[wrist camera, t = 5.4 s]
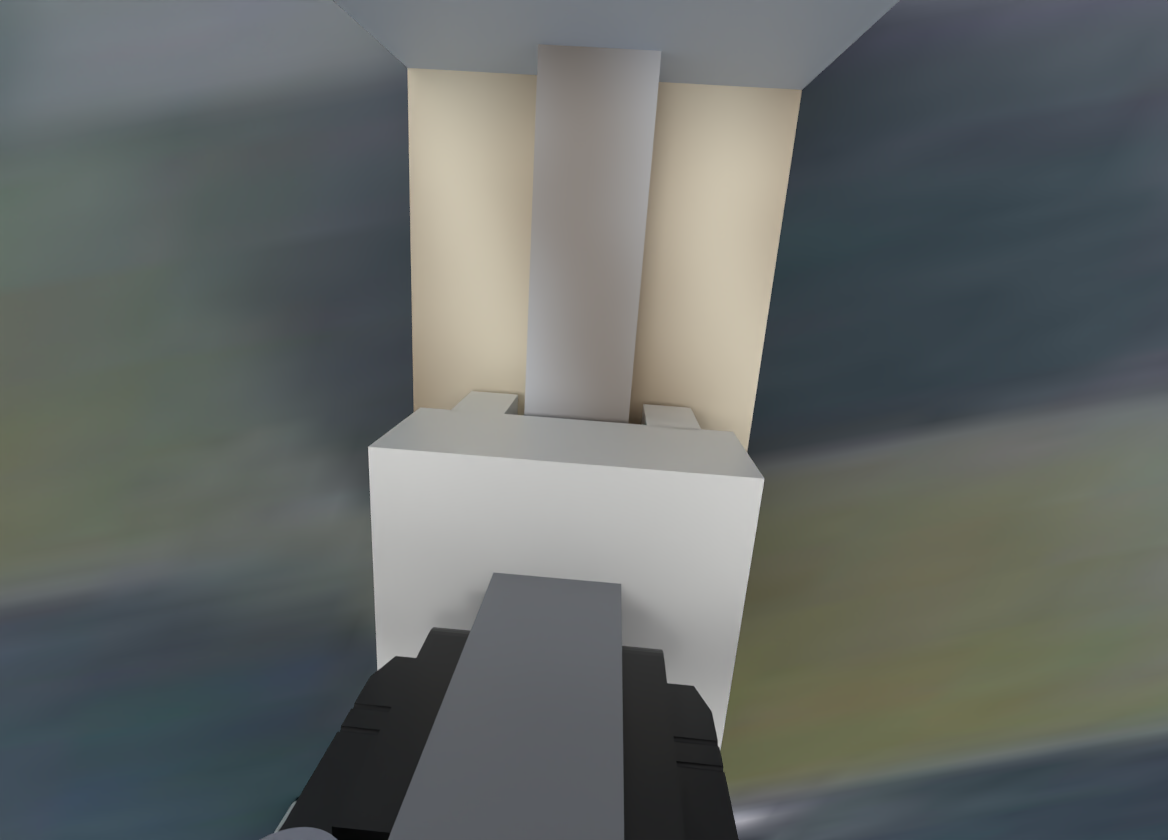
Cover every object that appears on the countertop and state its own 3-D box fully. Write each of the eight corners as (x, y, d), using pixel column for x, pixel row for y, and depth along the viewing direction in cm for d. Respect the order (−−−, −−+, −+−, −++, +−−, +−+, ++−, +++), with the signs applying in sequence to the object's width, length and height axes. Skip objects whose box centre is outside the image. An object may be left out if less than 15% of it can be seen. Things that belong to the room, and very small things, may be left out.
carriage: (445, 623, 17) (-33, 1636, 4) (444, 388, 15) (-403, 1027, 2) (686, 645, 16) (890, 1782, 4) (718, 409, 14) (1273, 1238, 2)
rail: (435, 810, 21) (400, 914, 18) (427, 86, 15) (371, 34, 11) (678, 835, 21) (689, 946, 18) (783, 106, 14) (834, 59, 11)
